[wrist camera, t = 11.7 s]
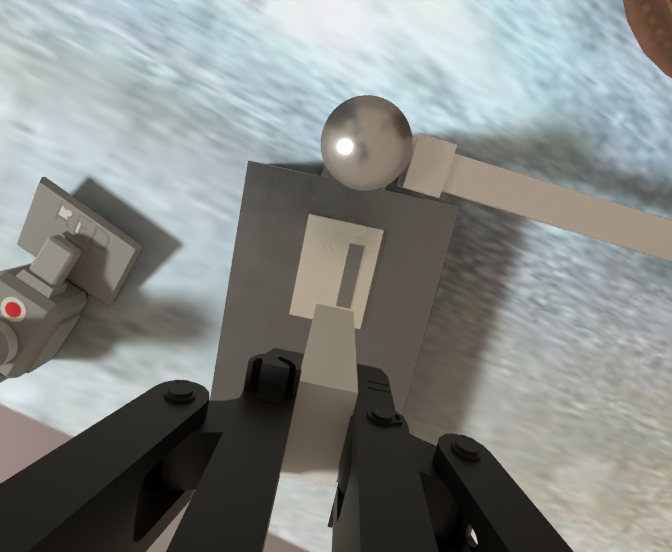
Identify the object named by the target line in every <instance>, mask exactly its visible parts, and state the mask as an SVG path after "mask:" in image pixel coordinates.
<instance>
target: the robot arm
mask: <svg viewBox="0 0 672 552" xmlns="http://www.w3.org/2000/svg"><path fill="white" fill-rule="evenodd" d="M338 473H339V479H338V487H337V491H336V495H335V499H334V503H333V507H332V511H331V515H330V519H329V523H328V527H331V528H332V526H333V535H332V552H573V550H572V549H571V548H570V547H569V546H568V544H567V543H566V542H565V541H564V540H563V538H562V537H561V536H560V535H559V534H558V533H557V531H556V530H555V529H554V528H553V527H552V525H551V524H550V523H549V522H548V521H547V519H546V518H545V517H544V516H543V515H542V513H541V512H540V511H539V510H538V509H537V507H536V506H535V505H534V504H533V503H532V501H531V500H530V499H529V498H528V497H527V495H526V494H525V493H524V492H523V491H522V490H521V488H520V487H519V486H518V485H517V484H516V482H515V481H514V480H513V479H512V478H511V476H510V475H509V474H508V473H507V472H506V470H505V469H504V468H503V467H502V466H501V464H500V463H499V462H498V461H497V460H496V458H495V457H494V456H493V455H492V454H491V452H490V451H488V450H487V449H486V448H485V447H484V446H483V445H482V444H480V443H478V442H477V441H475V440H474V439H472V438H470V437H467V436H464V435H458V434H444V435H443V436H441V437H439V440H438V444H437V446H435V445H433V444H430V443H428V442H425V441H423V440H421V439H419V438H417V437H415V436H413V435H411V434H410V433H409V429H408V425H407V422H406V420H405V418H404V417H403V416H402V415H401V414H399V413H398V412H397V411H395V406H394V402H393V397H392V394H391V387H390V383H389V378H388V376H387V375H386V374H385V373H384V372H383V371H382V369H381V368H376V367H371V366H366V365H361V364H357V363H356V346H355V328H354V311H349V310H345V309H340V308H335V307H330V306H326V305H321V304H316V307H315V311H314V316H313V320H312V324H311V328H310V332H309V337H308V341H307V345H306V349H305V353H304V354H302V353H298V352H293V351H288V350H283V349H278V348H274V349H272V350H270V351H269V352H267V353H266V354H259V355H255V356H253V357H251V358H250V359H249V361H248V366H247V372H246V378H245V383H244V389H243V392H242V394H241V396H240V397H239V398H236V399H232V400H224V401H209V392H208V391H207V389H206V388H205V387H204V386H202V385H200V384H198V383H195V382H190V381H188V380H174V381H168V382H163V383H161V384H159V385H156V386H155V387H153V388H151V389H150V390H148V391H147V392H145V393H143V394H142V395H140V396H139V397H137V398H136V399H134V400H132V401H131V402H129V403H128V404H126V405H124V406H123V407H121V408H120V409H118V410H117V411H115V412H113V413H112V414H110V415H109V416H107V417H105V418H104V419H102V420H101V421H99V422H98V423H96V424H94V425H93V426H91V427H90V428H88V429H86V430H85V431H83V432H82V433H80V434H78V435H77V436H75V437H74V438H72V439H71V440H69V441H68V442H66V443H64V444H63V445H61V446H59V447H58V448H56V449H55V450H53V451H52V452H50V453H49V454H47V455H45V456H44V457H42V458H40V459H39V460H37V461H36V462H34V463H33V464H31V465H29V466H28V467H26V468H25V469H23V470H21V471H20V472H18V473H17V474H15V475H14V476H12V477H11V478H9V479H7V480H6V481H4V482H2V483H1V484H0V552H146V551H147V550H148V548H149V547H150V546H151V545H152V544H153V543H154V542H155V540H156V539H157V538H158V537H159V536H160V535H161V533H162V532H163V531H164V529H166V528H167V526H168V525H169V524H170V523H171V522H172V520H174V518H175V517H176V516H177V515H178V514H179V512H180V511H181V510H182V509H183V508H184V507H185V506H186V504H187V503H188V502H189V501H190V500H191V501H190V503H189V505H188V507H187V509H186V511H185V513H184V515H183V517H182V519H181V522H180V524H179V526H178V528H177V530H176V532H175V534H174V536H173V538H172V540H171V543H170V544H169V547H168V549H167V551H166V552H263V550H264V545H265V541H266V537H267V532H268V527H269V523H270V518H271V514H272V509H273V505H274V500H275V495H276V491H277V486H278V481H279V477H280V476H282V477H287V478H292V479H297V480H302V481H307V482H312V483H317V484H322V485H327V486H332V487H335V485H336V481H337V477H338ZM472 529H473V530H474V532H475V534H476V537H477V541H478V545H477V544H476V542H475V541H474V539H473V538H472V536H471V531H472Z"/></svg>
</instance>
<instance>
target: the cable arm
mask: <svg viewBox="0 0 672 552" xmlns="http://www.w3.org/2000/svg"><path fill="white" fill-rule="evenodd" d="M456 148H457V144H454V143H451V142H447V141H444V140H441V139H438V138H434V137H431V136H428V135H425V134H422V133H420V134H418V135H416V136H415V137H413V138H412V150H411V155H410V158H409V161H408V163H407V165H406V167H405V169H404V170H403V172H402V173H401V174H400V177H399V180H398V184H397V186H398V187H402V188H405V189H408V190H411V191H415V192H418V193H421V194H425V195H428V196H432V197H437V198H439V197H440V194H441V192H443V193H446V194H449V195H453V196H456V197H459V198H463V199H466V200H469V201H472V202H476V203H479V204H482V205H486V206H489V207H492V208H495V209H499V210H502V211H505V212H509V213H512V214H515V215H518V216H522V217H525V218H528V219H532V220H535V221H538V222H541V223H545V224H548V225H551V226H555V227H558V228H561V229H564V230H568V231H571V232H574V233H578V234H581V235H584V236H587V237H591V238H594V239H597V240H601V241H604V242H607V243H610V244H614V245H617V246H620V247H624V248H627V249H630V250H633V251H637V252H640V253H643V254H647V255H650V256H653V257H656V258H660V259H663V260H666V261H670V262H672V220H669V219H665V218H662V217H659V216H656V215H652V214H649V213H646V212H643V211H639V210H636V209H633V208H630V207H627V206H623V205H620V204H617V203H614V202H610V201H607V200H604V199H601V198H597V197H594V196H591V195H588V194H584V193H581V192H578V191H575V190H571V189H568V188H565V187H562V186H559V185H555V184H552V183H549V182H546V181H542V180H539V179H536V178H533V177H529V176H526V175H523V174H520V173H516V172H513V171H510V170H507V169H503V168H500V167H497V166H494V165H490V164H487V163H484V162H481V161H478V160H474V159H471V158H468V157H465V156H461V155H458V154H455V151H456Z"/></svg>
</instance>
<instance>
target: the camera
mask: <svg viewBox="0 0 672 552" xmlns="http://www.w3.org/2000/svg"><path fill="white" fill-rule="evenodd" d="M17 245H19V246H20V247H22V248H23V249H25V250H26V251H27V252H29V253H30V254H32V255H33V256H35V257H36V258H35V259H34V261H33V263H31V264H27V265H23V266H20V267H16V268H12V269H8V270H4V271H0V383H1V382H2V381H4V380H6V379H8V378H16V377H19V376H21V375H23V374H24V373H30V372H32V371H33V370H35V369H37V368H38V367H40V366H41V365H43V364H45V363H46V362H48V361H50V360H51V359H52V358H53V357H54V356H55V355H56V353H57V352H58V350H59V349H60V347H61V346H62V344H63V343H64V341H65V340H66V338H67V337H68V335H69V334H70V332H71V331H72V329H73V327H74V326H75V324H76V323H77V321H78V320H79V318H80V317H81V314H80V312H81V311H82V309H83V308H84V306H85V305H86V303H87V301H88V299H87V295H86V292H88V293H89V294H91V295H92V296H94V297H95V298H97V299H98V300H100V301H101V302H103V303H104V304H106V305H110V306H111V305H112V304H113V302H114V300H115V298H116V297H117V295H118V293H119V291H120V289H121V287H122V285H123V283H124V282H125V280H126V278H127V276H128V274H129V272H130V270H131V268H132V266H133V265H134V263H135V261H136V259H137V257H138V255H139V253H140V251H141V250H142V248H143V246H142V245H141V244H139V243H138V242H137V241H135V240H134V239H132V238H131V237H129V236H128V235H127V234H125V233H124V232H122V231H121V230H120V229H118V228H117V227H115V226H114V225H112V224H111V223H110V222H108V221H107V220H105V219H104V218H103V217H101V216H100V215H98V214H97V213H95V212H94V211H93V210H91V209H90V208H88V207H87V206H86V205H84V204H83V203H81V202H80V201H78V200H77V199H76V198H74V197H73V196H71V195H70V194H69V193H67V192H66V191H64V190H63V189H61V188H60V187H59V186H57V185H56V184H54V183H53V182H52V181H50V180H49V179H47V178H46V177H42V179H41V180H40V182H39V185H38V187H37V190H36V193H35V196H34V199H33V201H32V204H31V207H30V210H29V213H28V215H27V218H26V221H25V224H24V227H23V229H22V232H21V235H20V238H19V240H18V243H17ZM66 278H67V279H66ZM68 279H69V280H70V281H69V280H68ZM71 281H72V282H73V283H75V284H76V285H78V286H79V287H81V288H82V289H83V290H82V289H81V288H79V287H78V286H76V285H75V284H73V283H72V282H71ZM84 290H85V291H86V292H85V291H84Z"/></svg>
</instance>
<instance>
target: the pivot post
mask: <svg viewBox="0 0 672 552" xmlns="http://www.w3.org/2000/svg"><path fill="white" fill-rule="evenodd" d="M411 150H412V134H411V129H410V126H409V123H408V121H407V119H406V117H405V116H404V114H403V113H402V112H401V111H400V109H399V108H398V107H396V106H395V105H394V104H393V103H391V102H390V101H388V100H386V99H384V98H381V97H377V96H371V95H364V96H358V97H354V98H351V99H349V100H347V101H345V102H343V103H342V104H340V105H339V106H338V107H337V108H336V109H335V110H334V111H333V112H332V113H331V114H330V116H329V117H328V119H327V121H326V123H325V125H324V128H323V131H322V136H321V152H322V156H323V160H324V165H323V170H322V175H321V176H324V177H328V178H333V179H337V180H338V181H339V182H340V183H342V184H343V185H345V186H347V187H350V188H352V189H356V190H362V191H369V190H376V189H384V190H385V189H386V185H388V184H390V183H391V182H393V181H394V180H395V179H396V178H397V177H398V176H399V175H400V174H401V173H402V172H403V170H404V169H405V167H406V165H407V163H408V161H409V158H410V155H411Z"/></svg>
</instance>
